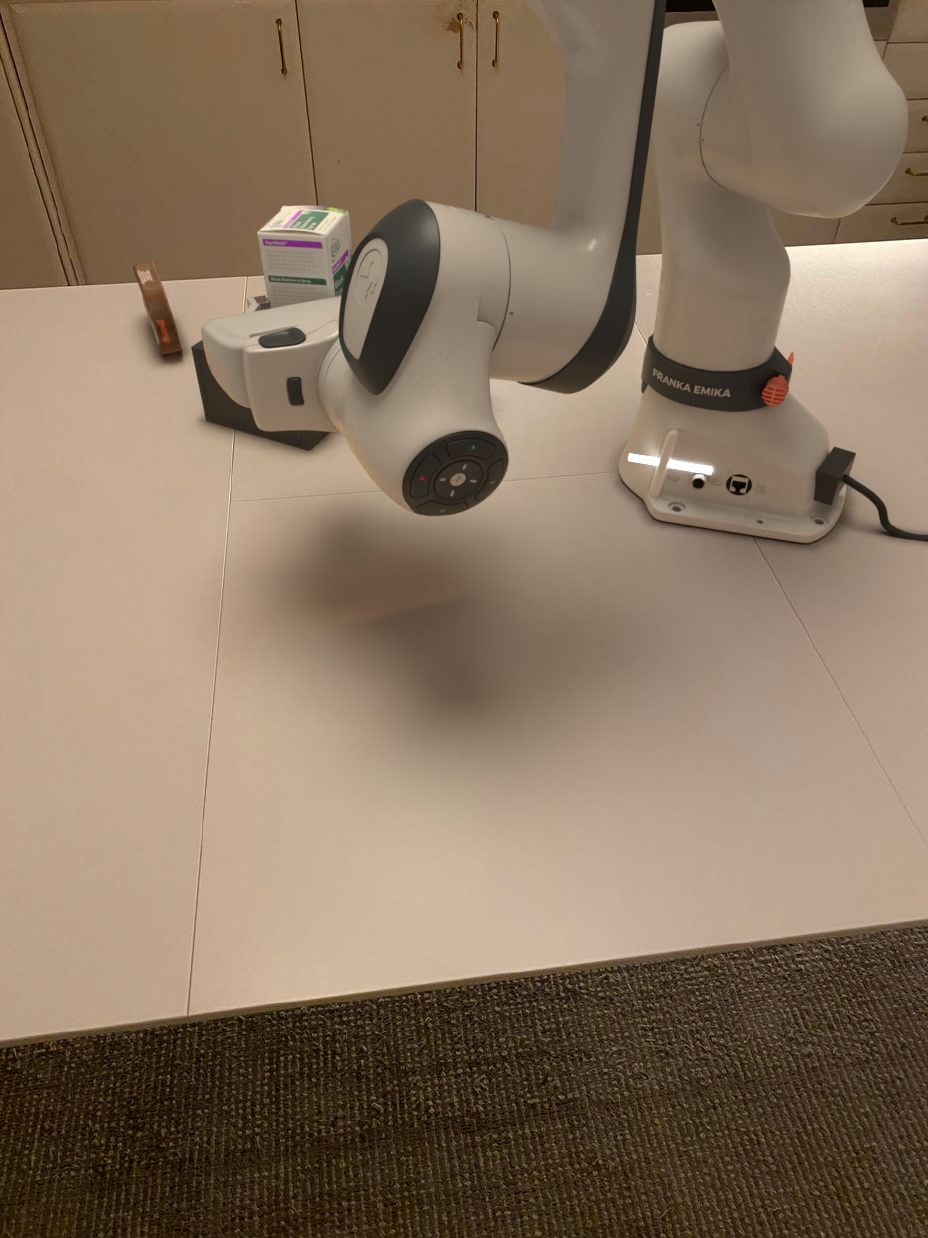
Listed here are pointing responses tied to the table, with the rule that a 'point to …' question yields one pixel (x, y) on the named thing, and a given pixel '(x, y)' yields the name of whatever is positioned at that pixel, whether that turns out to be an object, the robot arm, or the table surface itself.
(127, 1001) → the table surface
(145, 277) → the brown flat box
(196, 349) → the bin
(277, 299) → the syrup box
